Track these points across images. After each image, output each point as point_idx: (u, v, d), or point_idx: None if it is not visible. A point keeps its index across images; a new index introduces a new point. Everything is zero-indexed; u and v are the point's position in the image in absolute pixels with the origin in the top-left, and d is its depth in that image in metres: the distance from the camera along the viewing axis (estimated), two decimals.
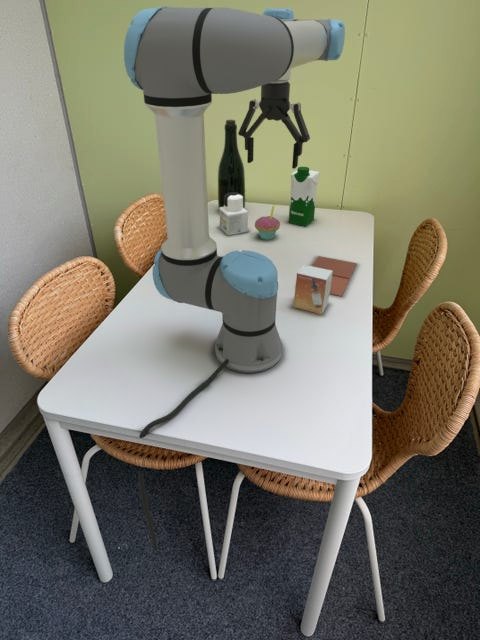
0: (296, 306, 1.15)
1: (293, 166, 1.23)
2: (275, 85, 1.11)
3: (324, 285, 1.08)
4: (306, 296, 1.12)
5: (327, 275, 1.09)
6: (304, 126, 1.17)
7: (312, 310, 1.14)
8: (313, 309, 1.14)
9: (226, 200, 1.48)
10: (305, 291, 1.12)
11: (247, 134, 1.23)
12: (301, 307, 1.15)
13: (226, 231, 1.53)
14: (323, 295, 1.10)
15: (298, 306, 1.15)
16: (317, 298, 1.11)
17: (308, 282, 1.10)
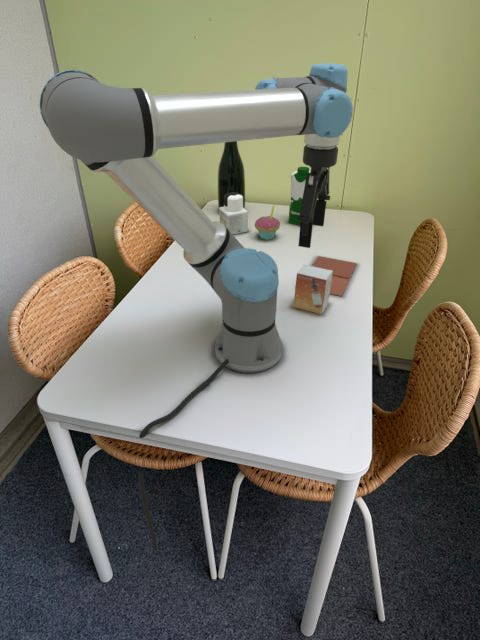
0: (296, 306, 1.15)
1: (299, 243, 1.03)
2: (304, 147, 0.96)
3: (324, 285, 1.08)
4: (306, 296, 1.12)
5: (327, 275, 1.09)
6: (308, 204, 0.95)
7: (312, 310, 1.14)
8: (313, 309, 1.14)
9: (226, 200, 1.48)
10: (305, 291, 1.12)
11: None
12: (301, 307, 1.15)
13: None
14: (323, 295, 1.10)
15: (298, 306, 1.15)
16: (317, 298, 1.11)
17: (308, 282, 1.10)
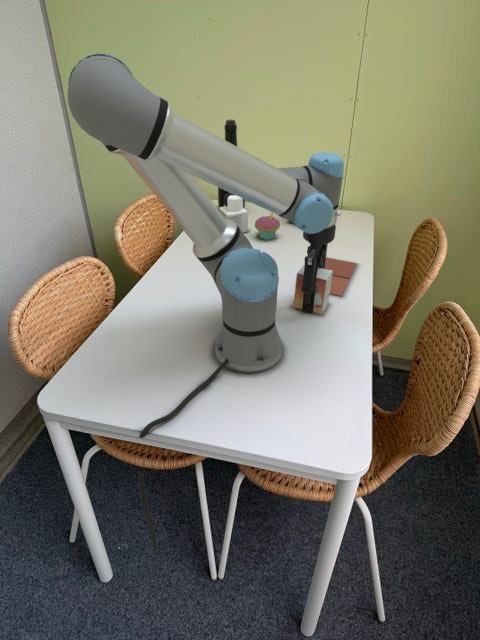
0: (296, 306, 1.15)
1: None
2: None
3: (324, 285, 1.08)
4: None
5: (327, 275, 1.09)
6: (309, 280, 1.05)
7: None
8: (313, 309, 1.13)
9: (226, 200, 1.48)
10: None
11: None
12: (301, 307, 1.15)
13: None
14: (323, 295, 1.10)
15: (298, 306, 1.15)
16: (317, 298, 1.11)
17: None
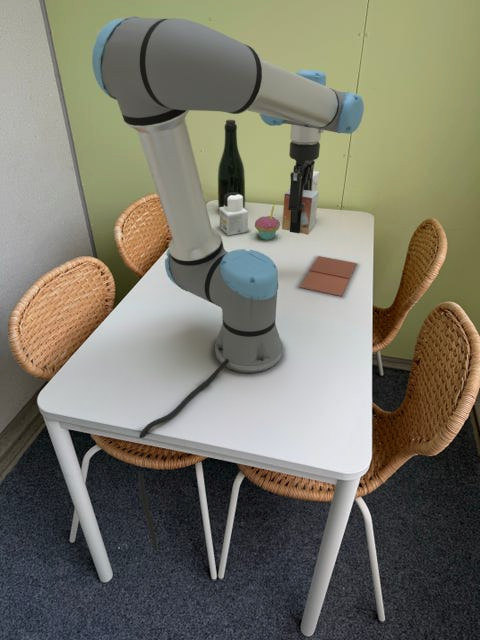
0: (284, 228, 1.22)
1: None
2: (290, 143, 1.10)
3: (310, 203, 1.15)
4: None
5: (313, 194, 1.16)
6: (295, 197, 1.12)
7: None
8: (300, 229, 1.20)
9: (226, 200, 1.48)
10: None
11: None
12: (289, 229, 1.22)
13: (226, 231, 1.53)
14: (309, 214, 1.17)
15: (286, 228, 1.22)
16: (303, 218, 1.18)
17: None
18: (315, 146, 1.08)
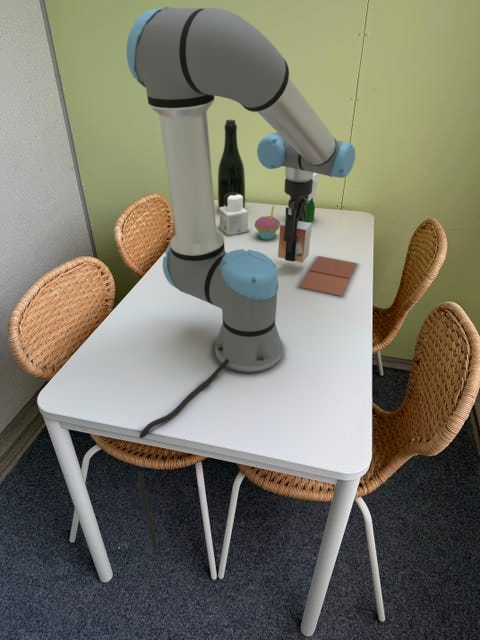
0: (280, 256, 1.30)
1: None
2: (285, 180, 1.18)
3: (304, 235, 1.23)
4: None
5: (306, 226, 1.24)
6: (290, 229, 1.20)
7: None
8: (295, 258, 1.28)
9: (226, 200, 1.48)
10: None
11: None
12: None
13: (226, 231, 1.53)
14: (303, 244, 1.25)
15: (282, 256, 1.30)
16: (298, 247, 1.26)
17: None
18: (308, 183, 1.16)
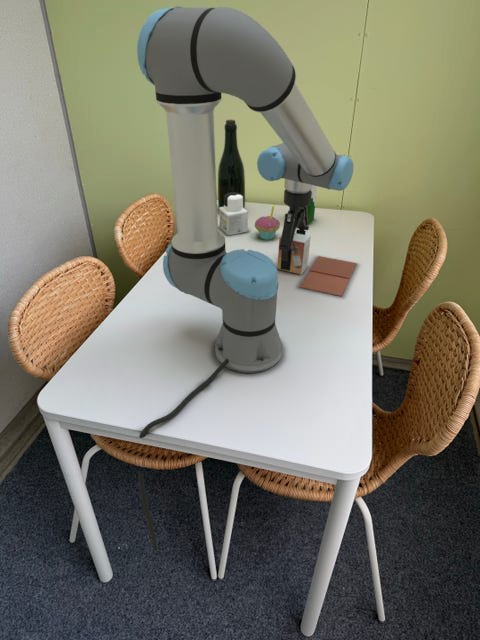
0: (279, 268, 1.32)
1: None
2: (284, 191, 1.20)
3: (303, 247, 1.25)
4: None
5: (305, 239, 1.26)
6: (287, 236, 1.19)
7: (293, 271, 1.31)
8: (294, 270, 1.31)
9: (226, 200, 1.48)
10: None
11: None
12: None
13: (226, 231, 1.53)
14: (302, 257, 1.27)
15: None
16: (297, 260, 1.28)
17: None
18: (307, 194, 1.18)
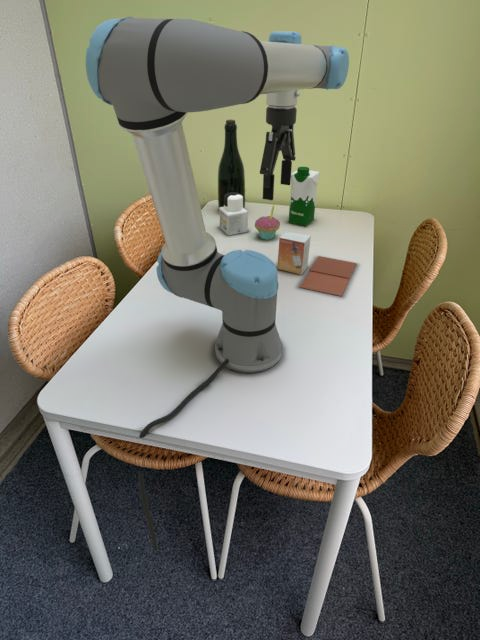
0: (279, 268, 1.32)
1: None
2: (266, 108, 1.08)
3: (303, 247, 1.25)
4: (288, 258, 1.29)
5: (305, 239, 1.26)
6: (268, 158, 1.07)
7: (293, 271, 1.31)
8: (294, 270, 1.31)
9: (226, 200, 1.48)
10: (287, 254, 1.29)
11: None
12: (284, 269, 1.32)
13: (226, 231, 1.53)
14: (302, 257, 1.27)
15: (281, 268, 1.32)
16: (297, 260, 1.28)
17: (289, 245, 1.27)
18: (291, 110, 1.06)
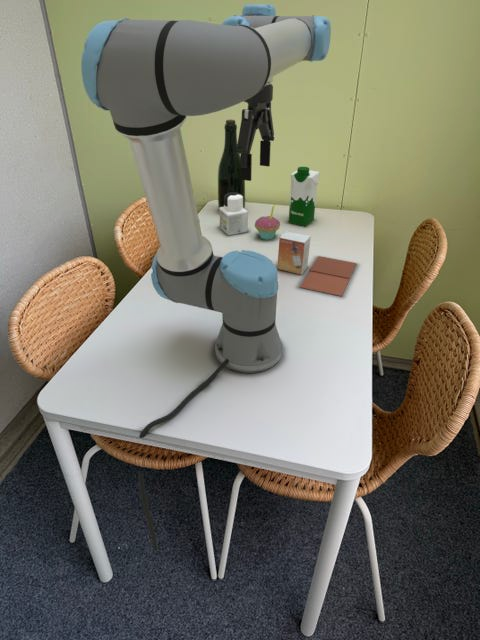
0: (279, 268, 1.32)
1: None
2: None
3: (303, 247, 1.25)
4: (288, 258, 1.29)
5: (305, 239, 1.26)
6: (244, 136, 1.05)
7: (293, 271, 1.31)
8: (294, 270, 1.31)
9: (226, 200, 1.48)
10: (287, 254, 1.29)
11: None
12: (284, 269, 1.32)
13: (226, 231, 1.53)
14: (302, 257, 1.27)
15: (281, 268, 1.32)
16: (297, 260, 1.28)
17: (289, 245, 1.27)
18: (267, 87, 1.03)
